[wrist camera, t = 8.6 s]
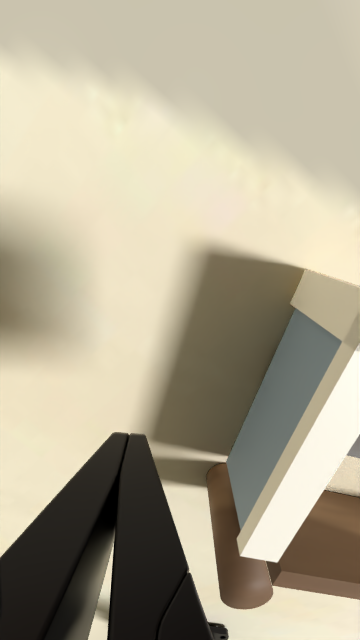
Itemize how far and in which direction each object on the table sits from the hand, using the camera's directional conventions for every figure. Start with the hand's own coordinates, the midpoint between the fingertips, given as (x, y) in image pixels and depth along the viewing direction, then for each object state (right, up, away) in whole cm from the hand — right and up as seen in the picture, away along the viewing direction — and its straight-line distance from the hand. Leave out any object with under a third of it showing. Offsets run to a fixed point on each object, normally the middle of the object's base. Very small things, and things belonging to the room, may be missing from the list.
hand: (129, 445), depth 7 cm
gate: (+7, 0, +8) cm, 10 cm away
